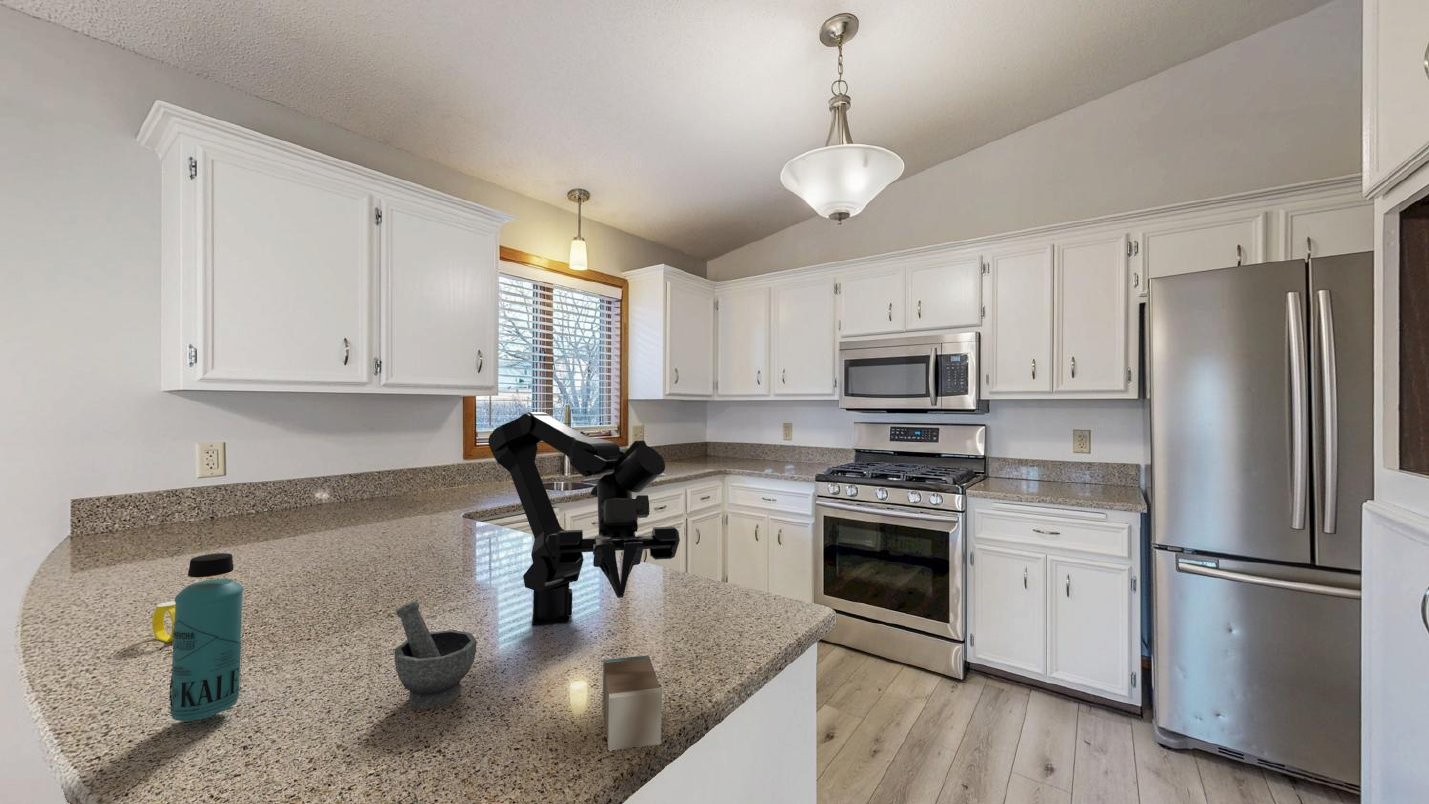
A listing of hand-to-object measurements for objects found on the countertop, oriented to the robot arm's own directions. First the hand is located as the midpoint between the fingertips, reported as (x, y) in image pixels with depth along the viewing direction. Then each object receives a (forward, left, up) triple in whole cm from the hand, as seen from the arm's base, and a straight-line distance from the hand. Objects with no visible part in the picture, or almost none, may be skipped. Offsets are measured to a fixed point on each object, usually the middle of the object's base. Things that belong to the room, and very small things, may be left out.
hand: (620, 596), depth 81 cm
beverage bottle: (-50, 0, -12) cm, 51 cm away
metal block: (0, -8, -9) cm, 12 cm away
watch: (-70, +29, -12) cm, 77 cm away
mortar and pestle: (-25, 0, -12) cm, 28 cm away
